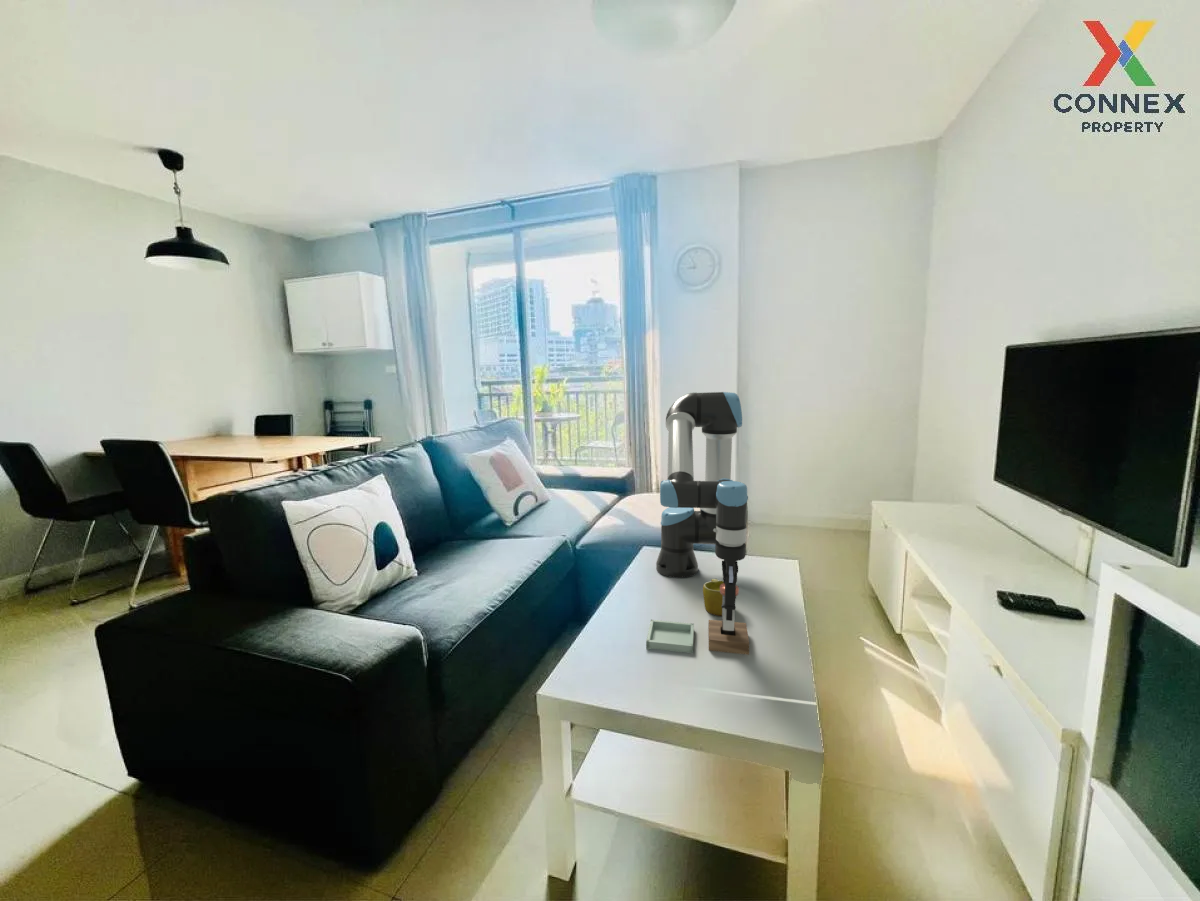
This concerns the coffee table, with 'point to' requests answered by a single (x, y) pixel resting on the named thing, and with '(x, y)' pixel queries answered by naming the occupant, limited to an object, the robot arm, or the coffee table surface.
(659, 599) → the coffee table surface
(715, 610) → the mug
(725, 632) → the pin
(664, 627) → the tray
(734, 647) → the socket block
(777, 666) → the coffee table surface
